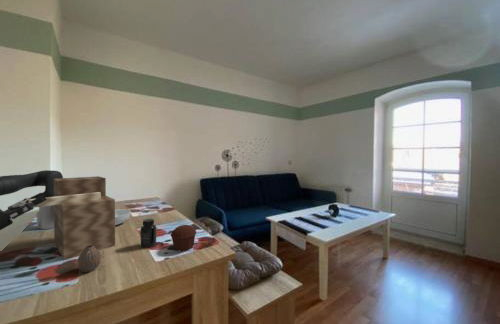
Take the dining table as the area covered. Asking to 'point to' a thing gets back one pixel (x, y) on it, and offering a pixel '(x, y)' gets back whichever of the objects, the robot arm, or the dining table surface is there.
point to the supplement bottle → (148, 233)
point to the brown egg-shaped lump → (89, 259)
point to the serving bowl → (121, 215)
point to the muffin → (183, 237)
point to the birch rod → (69, 199)
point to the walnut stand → (83, 217)
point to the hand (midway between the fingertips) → (44, 195)
